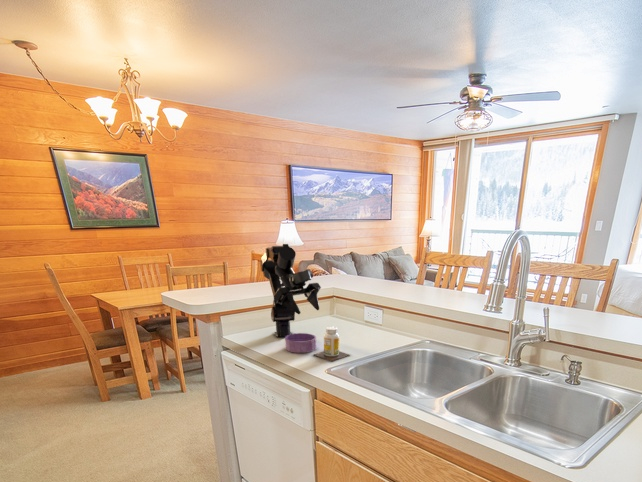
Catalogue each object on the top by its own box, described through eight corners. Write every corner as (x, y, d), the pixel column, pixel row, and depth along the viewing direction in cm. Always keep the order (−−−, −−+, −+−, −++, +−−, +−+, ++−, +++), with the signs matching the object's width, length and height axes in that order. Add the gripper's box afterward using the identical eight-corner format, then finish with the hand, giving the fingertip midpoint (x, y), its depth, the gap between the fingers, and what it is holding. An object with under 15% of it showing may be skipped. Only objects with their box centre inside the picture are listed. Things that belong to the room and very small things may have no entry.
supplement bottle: (324, 357, 143) (324, 330, 139) (323, 352, 148) (322, 326, 144) (339, 356, 144) (340, 330, 140) (337, 351, 149) (338, 326, 145)
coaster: (313, 355, 146) (313, 354, 146) (331, 349, 152) (331, 349, 152) (332, 361, 141) (331, 360, 140) (349, 355, 147) (349, 354, 147)
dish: (283, 345, 155) (282, 334, 153) (312, 343, 159) (311, 332, 157) (288, 355, 145) (288, 342, 144) (319, 352, 149) (319, 340, 147)
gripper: (276, 263, 138) (300, 301, 136) (317, 259, 151) (338, 294, 149) (263, 284, 146) (285, 320, 144) (303, 279, 159) (323, 312, 157)
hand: (309, 311), depth 148 cm, fingers open, 9 cm apart
